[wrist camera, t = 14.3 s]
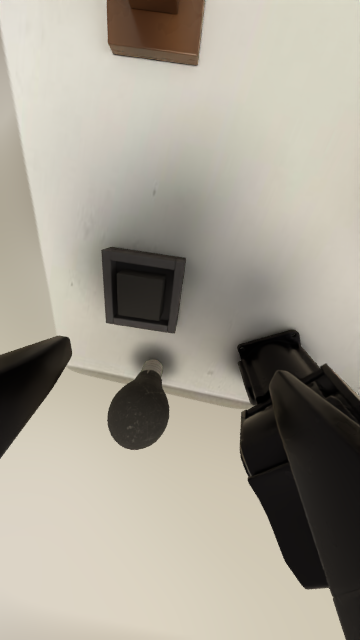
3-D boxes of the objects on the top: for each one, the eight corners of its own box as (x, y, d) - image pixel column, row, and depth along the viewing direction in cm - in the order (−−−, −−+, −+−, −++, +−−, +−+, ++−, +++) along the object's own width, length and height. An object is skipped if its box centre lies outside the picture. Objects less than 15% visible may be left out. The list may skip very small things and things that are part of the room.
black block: (162, 312, 19) (159, 321, 17) (125, 306, 19) (117, 315, 17) (166, 274, 17) (162, 280, 16) (124, 268, 17) (116, 273, 16)
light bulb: (128, 346, 23) (85, 422, 14) (173, 343, 22) (157, 422, 13) (138, 379, 25) (107, 463, 16) (178, 378, 25) (168, 464, 16)
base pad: (186, 257, 18) (184, 262, 16) (176, 323, 21) (174, 334, 19) (111, 246, 18) (101, 249, 16) (114, 314, 21) (105, 323, 19)
